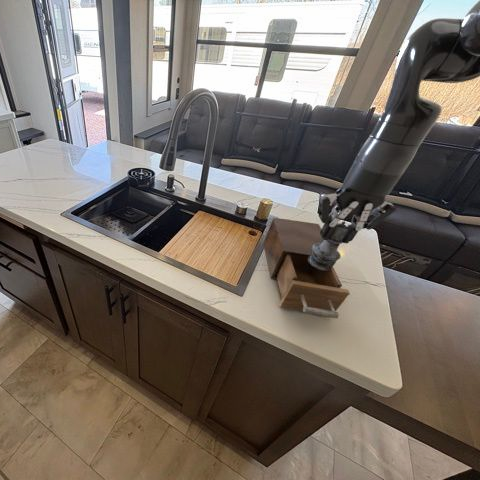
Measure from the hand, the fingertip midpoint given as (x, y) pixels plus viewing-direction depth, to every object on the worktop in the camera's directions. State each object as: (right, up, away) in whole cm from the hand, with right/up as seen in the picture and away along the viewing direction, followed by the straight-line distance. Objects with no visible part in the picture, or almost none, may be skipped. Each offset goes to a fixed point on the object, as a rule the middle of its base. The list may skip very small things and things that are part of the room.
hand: (334, 239), depth 56 cm
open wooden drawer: (-1, -15, +12) cm, 19 cm away
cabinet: (+2, -7, +23) cm, 24 cm away
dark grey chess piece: (0, -6, +5) cm, 7 cm away
